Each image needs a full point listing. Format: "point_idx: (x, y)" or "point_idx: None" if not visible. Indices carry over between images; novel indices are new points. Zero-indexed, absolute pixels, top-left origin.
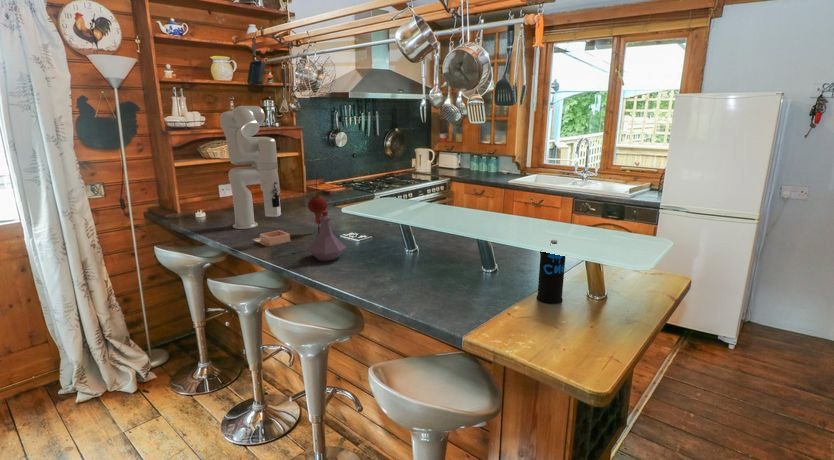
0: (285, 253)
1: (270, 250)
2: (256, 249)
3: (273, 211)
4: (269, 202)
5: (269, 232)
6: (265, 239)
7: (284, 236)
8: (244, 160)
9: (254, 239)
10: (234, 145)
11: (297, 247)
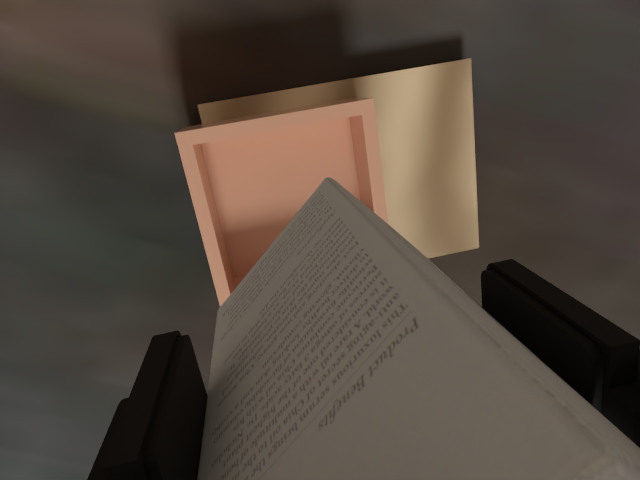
0: (8, 189)
1: (146, 114)
2: (231, 25)
3: (247, 301)
4: (294, 338)
5: (372, 187)
6: (260, 116)
7: (211, 265)
8: None
9: (453, 76)
10: None
11: (129, 299)
